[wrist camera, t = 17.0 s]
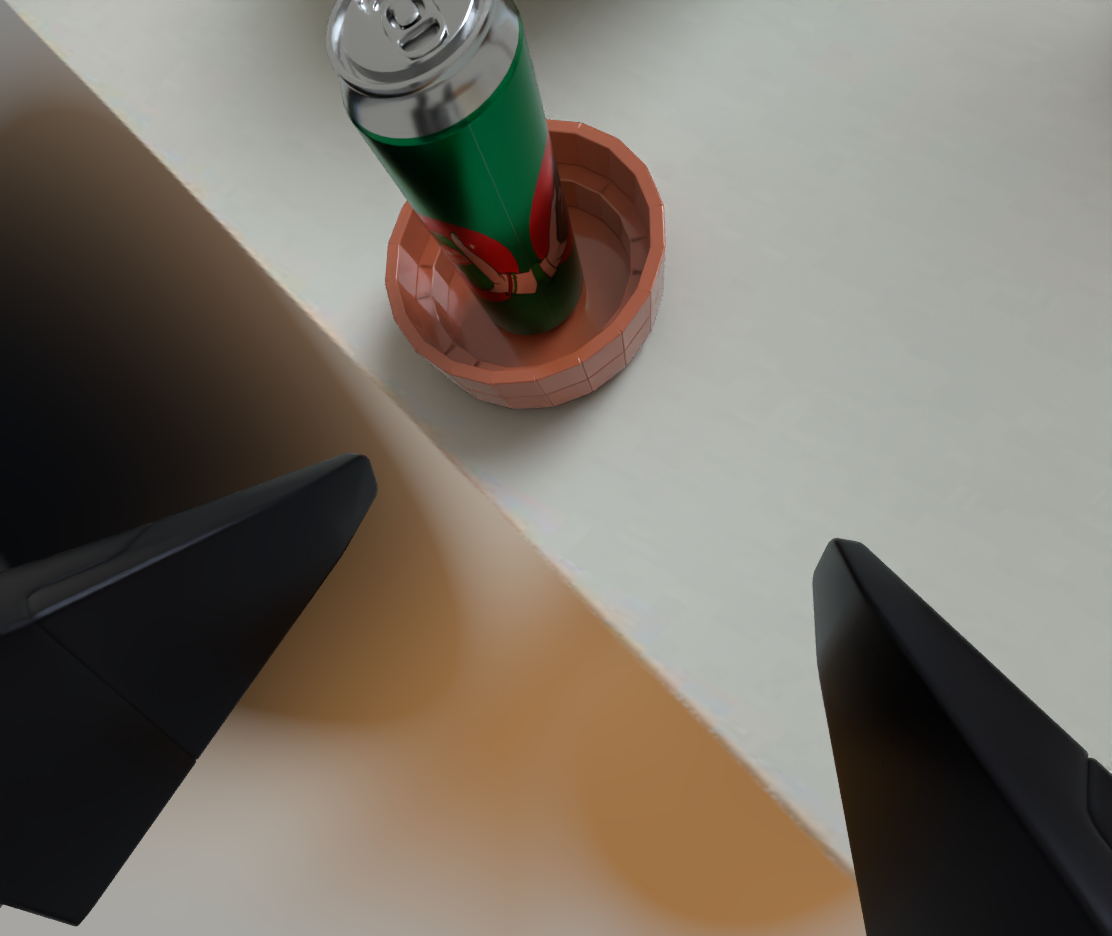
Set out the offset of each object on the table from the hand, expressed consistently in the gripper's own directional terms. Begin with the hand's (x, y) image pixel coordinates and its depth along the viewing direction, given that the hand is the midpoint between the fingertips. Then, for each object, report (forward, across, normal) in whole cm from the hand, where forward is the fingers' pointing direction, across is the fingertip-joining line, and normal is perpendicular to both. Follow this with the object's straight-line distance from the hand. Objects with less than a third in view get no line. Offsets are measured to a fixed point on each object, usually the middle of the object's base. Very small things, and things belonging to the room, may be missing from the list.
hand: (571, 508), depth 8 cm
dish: (+16, +6, 0) cm, 17 cm away
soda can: (+15, +6, 0) cm, 16 cm away
